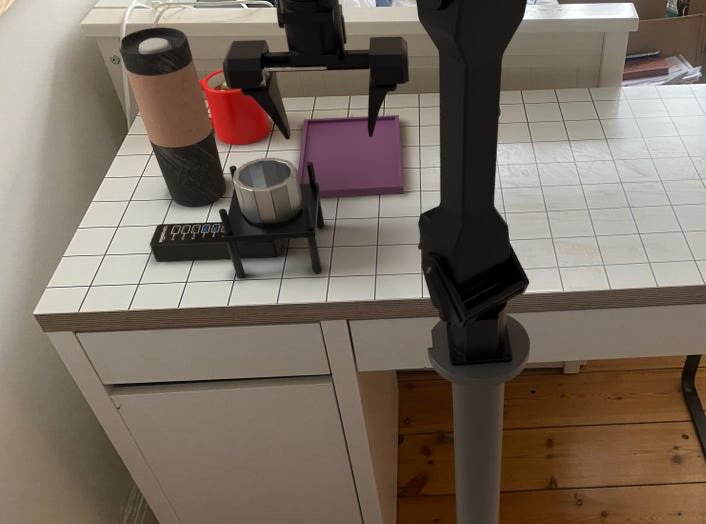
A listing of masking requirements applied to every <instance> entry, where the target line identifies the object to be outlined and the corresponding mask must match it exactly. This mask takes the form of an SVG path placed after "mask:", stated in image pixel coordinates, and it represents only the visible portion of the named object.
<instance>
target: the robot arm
mask: <svg viewBox="0 0 706 524" xmlns="http://www.w3.org/2000/svg"><path fill="white" fill-rule="evenodd" d="M415 3H416V11H417V17H418V21H419V22H420V24H421V26H422V27H423V29H424V31H425V32H426V33H427V35H428V37H429V38H430V39H431V40H430V41H432V43H433V44H434V46H435V47H436V49H437V52H438V74H439V75H438V76H439V77H438V78H439V79H438V80H439V83H438V84H439V85H438V86H439V87H438V89H439V94H438V95H439V96H438V97H439V193H440V194H439V204H438V205H436V206H434V207H432V208H430V209H428V210H426V211H423V212H422V213H419V218H418V222H417V225H418V231H419V243H418V245H417V249H418V250H419V251H421V270H422V273H423V277H424V280H425V285H426V288H427V291H428V294H429V298H430V302H431V304H432V306H433V307H434V308H435V309H436V310H438V318H439V320H442V321H443V322H447V323H446V328H447V337H448V346H449V356H450V363H451V365H453V366H460V365H474V364H488V363H502V362H510V361H512V350H511V345H510V340H509V335H508V329H507V324H506V316H507V315H508V314H507V313H508V302H509V301H511V300H513V299H514V298H516V297H518V296H521V295H523V294H525V293H526V291H527V289H528V287H529V285H530V279H529V277H528V275H527V274H526V272H525V269H524V267H523V266H522V264H521V261H520V259H519V258H518V256H517V254H516V252H515V249H514V248H513V245H512V244H511V242H510V231H509V225H508V222H506V220H505V219H504V217H503V216H502V214H501V213H500V212H499V210H497V208H496V206H495V195H496V194H495V193H496V175H497V161H498V160H497V159H498V158H497V157H498V142H499V141H498V140H499V123H500V107H501V106H500V105H501V89H502V88H501V87H502V72H503V71H502V68H503V67H502V66H503V57H504V54H505V51H506V50H507V48H508V47H509V44H510V43H511V41H512V39H513V38H514V36H515V34H516V32H517V30H518V28H520V25H521V24H522V22H523V19H524V17H525V14H526V8H527V4H528V0H415ZM275 8H276V9H275V10H276V18H277V26H278V28H279V29H284V33H285V39H286V44H287V48H288V49H287V51H270V47H269V44H268V42H267V40H266V39H253V40H252V39H251V40H250V39H249V40H232V42H231V43H230V45H229V46H228V48H227V50H226V54H225V56H224V59H223V61H222V69H223V73H224V77H225V81H226V85H227V87H229V88H231V89H241V93H242V95H244V96H251V97H252V98H253V99H254V100H255V101H256V102H257V103H258V104H259V105H260V106H261V107H262V108H263V109H264V111H265V112H266V113H267V114H268V117H269V119H271V121H272V122H273V123H274V125H275V126H276V128H277V129H278V131H279V132H280V133H281V135H282V136H283V138H284V139H285V140H286V141H288V140H289V141H290V140H291V137H292V135H291V129H290V122H289V120H288V115H287V111H286V109H285V105H284V101H283V98H282V95H281V92H280V87H279V83H278V76H277V73H292V72H296V73H297V72H327V71H328V72H329V71H360V70H361V71H362V70H369V77H368V79H369V80H368V101H367V102H368V103H367V104H368V106H367V116H368V134H369V137H372V136H373V133H374V129H375V125H376V121H377V117H378V116H379V113H380V110H381V108H382V105H383V103H384V101H385V99H386V96H387V94H388V93H389V92H395V91H397V90H398V85H404V84H406V83H409V82H410V67H409V66H410V65H409V49H408V48H409V47H408V41H406V39H405V38H403V36H370V37H369V45H368V46H369V47H368V49H346V48H345V45H347V42H348V41H347V40H348V39H347V38H348V37H347V30H346V22H345V16H344V14H343V13H344V12H343V4H341V3H340V0H275ZM507 357H509V358H507Z"/></svg>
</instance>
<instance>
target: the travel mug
mask: <svg viewBox="0 0 706 524" xmlns="http://www.w3.org/2000/svg"><path fill="white" fill-rule="evenodd" d="M118 50H119V53H120V55H121V59H122V62H123V65H124V67H125V71H126V73H127V76H128V80H129V83H130V86H131V89H132V92H133V95H134V98H135V101H136V104H137V107H138V110H139V113H140V116H141V119H142V122H143V126H144V128H145V131H146V134H147V137H148V140H149V143H150V145H151V148H152V151H153V154H154V156H155V158H156V162H157V165H158V166H159V169H160V172H161V174H162V177H163V180H164V182H165V185H166V188H167V190H168V193H169V195H170V198H171V200H173V202H174V203H176V204H177V205H180V206H184V207H201V206H205V205H206V206H207V205H209V204H212V203H214V202H216V201H218V200H219V199H221V198H222V197H223V196H224V195H225V193H226V189H227V185H226V180H225V176H224V175H225V174H224V171H223V168H222V163H221V158H220V153H219V150H218V145H217V141H216V137H215V131H214V128H212V124H211V121H210V118H211V116H210V113H209V109H208V107H207V104H206V100H205V98H204V97H205V96H204V92H203V90H202V89H201V86H200V82H199V80H200V79H199V76H198V73H197V72H198V71H197V69H196V65H195V60H194V58H193V54H192V50H191V47H190V43H189V39H188V37H187V35H186V33H184V32H183V30H180V29H178V28H172V27H162V26H161V27H150V28H143V29H139V30H136V31H134V32H131V33H129V34H127V35H125V36H123V38H122V39H121V41H120V48H118Z"/></svg>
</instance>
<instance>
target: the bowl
mask: <svg viewBox="0 0 706 524" xmlns="http://www.w3.org/2000/svg"><path fill="white" fill-rule="evenodd" d="M233 182H234V184H233V187H234V186H235V189H236V193H237V197H238V201H239V205H240V208H241V212H242V213H243V214H244V215H245V217H246V218H247V219H249V220H251V221H253V222H256V223H260V224H276V223H280V222H284V221H286V220H289V219H290V218H292V217H293V216H295V215H296V214H297V213H298V211H299V210H300V209H301V208H302V195H301V189H300V184H299V179H298V168H297V167H296V166H295V165H294V164H293V163H292V162H291V161H290V160H288V159H284V158H281V157H280V158H279V157H260V158H256V159H252V160H250V161H246V162H244V163H243V164H242V165H240V166H239V167H238V168H237V170H236V171H235V173H234V177H233V180H232V183H233Z"/></svg>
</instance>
